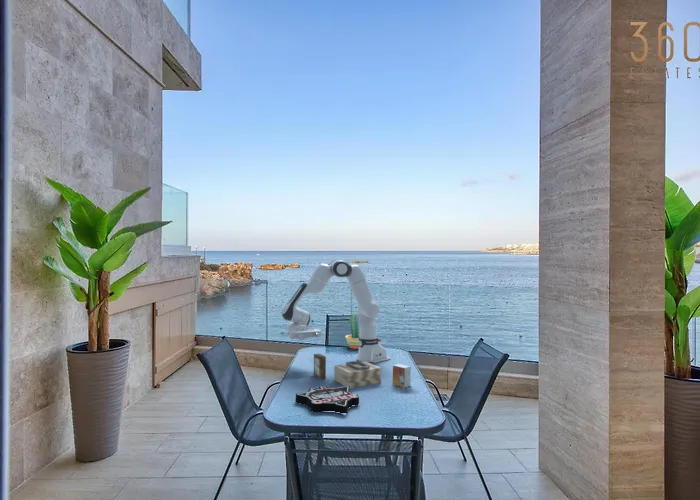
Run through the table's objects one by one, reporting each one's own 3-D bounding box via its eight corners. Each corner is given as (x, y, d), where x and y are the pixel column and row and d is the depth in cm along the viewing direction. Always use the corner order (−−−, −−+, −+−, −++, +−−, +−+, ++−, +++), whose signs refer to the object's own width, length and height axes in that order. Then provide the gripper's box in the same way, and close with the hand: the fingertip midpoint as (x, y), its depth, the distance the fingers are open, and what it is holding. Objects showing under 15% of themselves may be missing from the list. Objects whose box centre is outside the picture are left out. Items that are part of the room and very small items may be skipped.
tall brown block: (319, 374, 250) (319, 353, 250) (325, 378, 243) (325, 356, 243) (313, 375, 248) (313, 354, 248) (319, 378, 241) (320, 357, 241)
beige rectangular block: (365, 375, 249) (365, 358, 249) (380, 382, 235) (381, 365, 235) (334, 380, 239) (334, 362, 239) (349, 388, 225) (349, 369, 225)
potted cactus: (345, 349, 314) (345, 314, 314) (344, 344, 329) (345, 311, 329) (366, 349, 314) (367, 315, 314) (365, 345, 330) (365, 312, 330)
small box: (392, 385, 232) (392, 365, 232) (398, 382, 236) (398, 363, 236) (404, 388, 226) (404, 368, 226) (410, 386, 230) (411, 366, 230)
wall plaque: (343, 383, 221) (373, 401, 195) (343, 391, 221) (373, 410, 195) (291, 390, 208) (315, 411, 182) (291, 399, 208) (315, 421, 182)
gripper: (285, 328, 262) (294, 332, 251) (315, 326, 273) (325, 329, 261) (284, 338, 262) (294, 343, 250) (315, 336, 273) (325, 340, 261)
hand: (310, 336), depth 256 cm, fingers open, 8 cm apart
